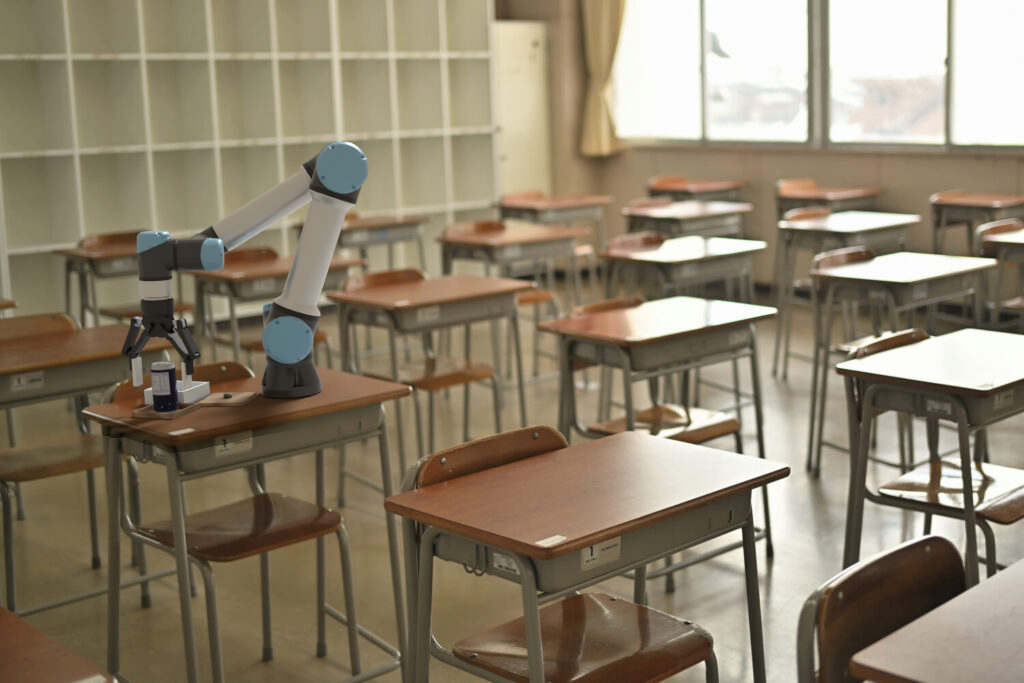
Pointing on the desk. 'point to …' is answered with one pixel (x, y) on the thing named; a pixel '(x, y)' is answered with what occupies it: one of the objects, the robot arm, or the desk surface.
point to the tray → (184, 392)
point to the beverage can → (164, 387)
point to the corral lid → (228, 399)
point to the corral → (146, 414)
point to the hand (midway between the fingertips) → (162, 386)
